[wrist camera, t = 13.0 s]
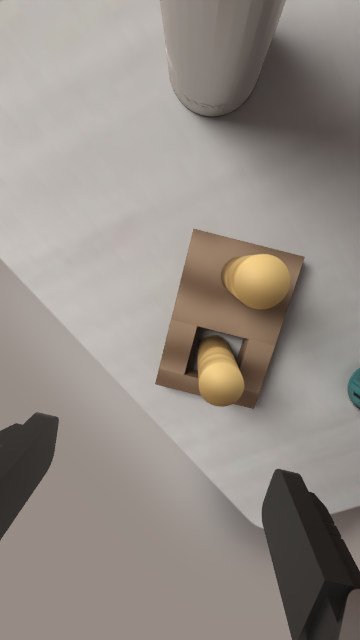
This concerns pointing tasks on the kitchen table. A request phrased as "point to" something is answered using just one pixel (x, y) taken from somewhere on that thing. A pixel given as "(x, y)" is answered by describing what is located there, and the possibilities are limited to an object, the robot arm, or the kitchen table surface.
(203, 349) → the pin
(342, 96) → the kitchen table surface
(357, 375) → the beverage bottle
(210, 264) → the pin plate
